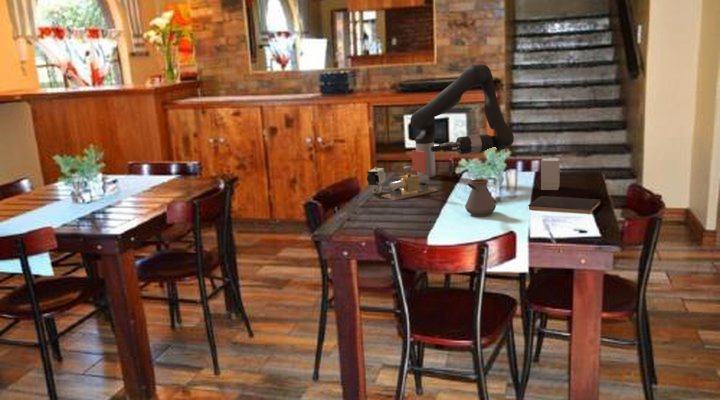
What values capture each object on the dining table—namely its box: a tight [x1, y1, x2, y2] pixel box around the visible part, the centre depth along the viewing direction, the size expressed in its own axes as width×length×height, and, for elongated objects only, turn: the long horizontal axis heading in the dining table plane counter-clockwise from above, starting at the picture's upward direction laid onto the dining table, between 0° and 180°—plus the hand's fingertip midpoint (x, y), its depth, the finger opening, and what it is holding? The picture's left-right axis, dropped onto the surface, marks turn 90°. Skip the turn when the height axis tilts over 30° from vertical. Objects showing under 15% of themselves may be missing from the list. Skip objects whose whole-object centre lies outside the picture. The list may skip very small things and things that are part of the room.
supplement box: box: [540, 157, 561, 191], centre depth 269 cm, size 7×7×13 cm
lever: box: [403, 149, 427, 173], centre depth 273 cm, size 14×4×9 cm, turn 32°
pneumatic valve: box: [366, 166, 387, 195], centre depth 287 cm, size 6×12×12 cm, turn 154°
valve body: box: [381, 171, 439, 201], centre depth 280 cm, size 24×10×10 cm, turn 122°
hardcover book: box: [527, 195, 602, 214], centre depth 238 cm, size 16×23×2 cm
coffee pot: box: [464, 178, 497, 217], centre depth 232 cm, size 21×12×15 cm, turn 155°
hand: (431, 149), depth 269 cm, fingers closed
